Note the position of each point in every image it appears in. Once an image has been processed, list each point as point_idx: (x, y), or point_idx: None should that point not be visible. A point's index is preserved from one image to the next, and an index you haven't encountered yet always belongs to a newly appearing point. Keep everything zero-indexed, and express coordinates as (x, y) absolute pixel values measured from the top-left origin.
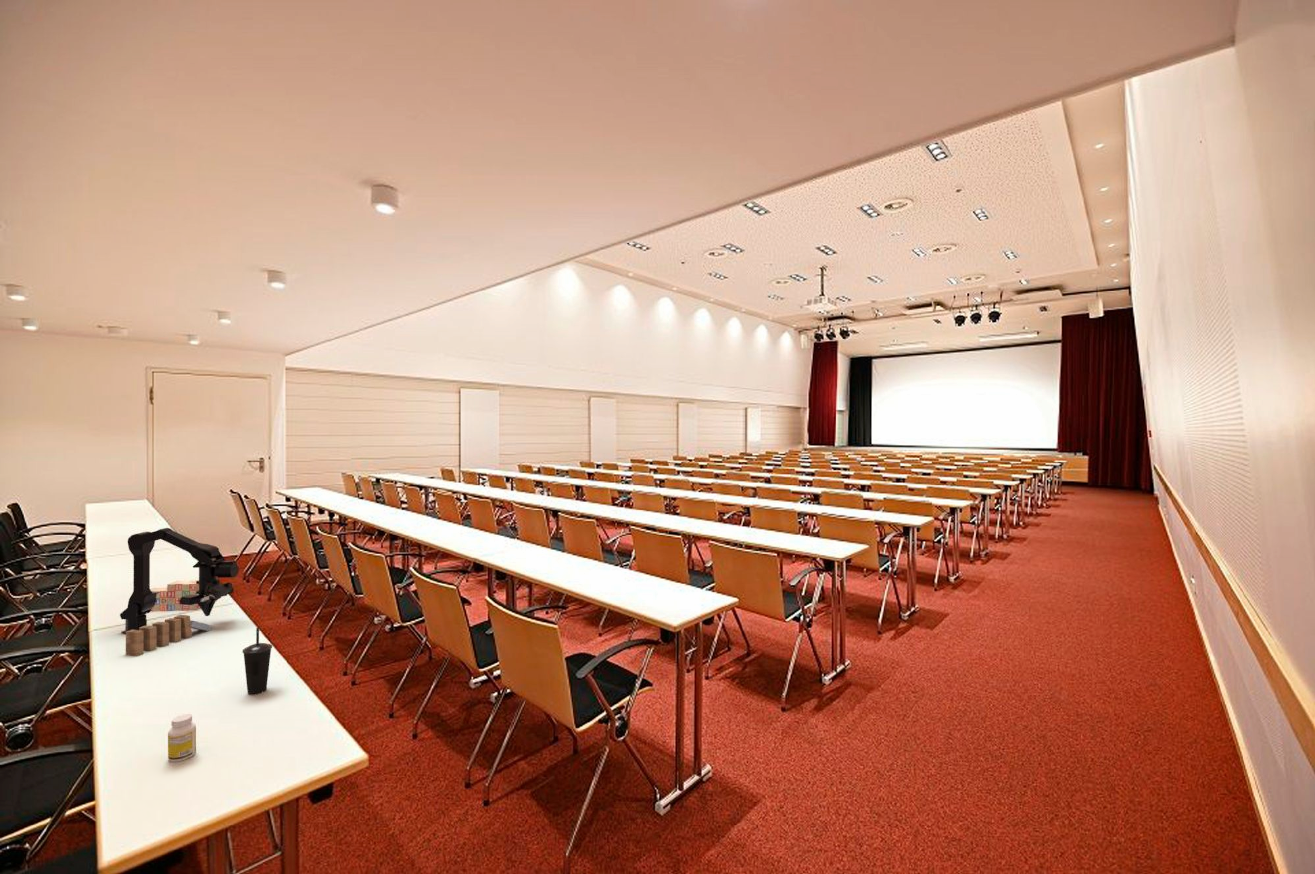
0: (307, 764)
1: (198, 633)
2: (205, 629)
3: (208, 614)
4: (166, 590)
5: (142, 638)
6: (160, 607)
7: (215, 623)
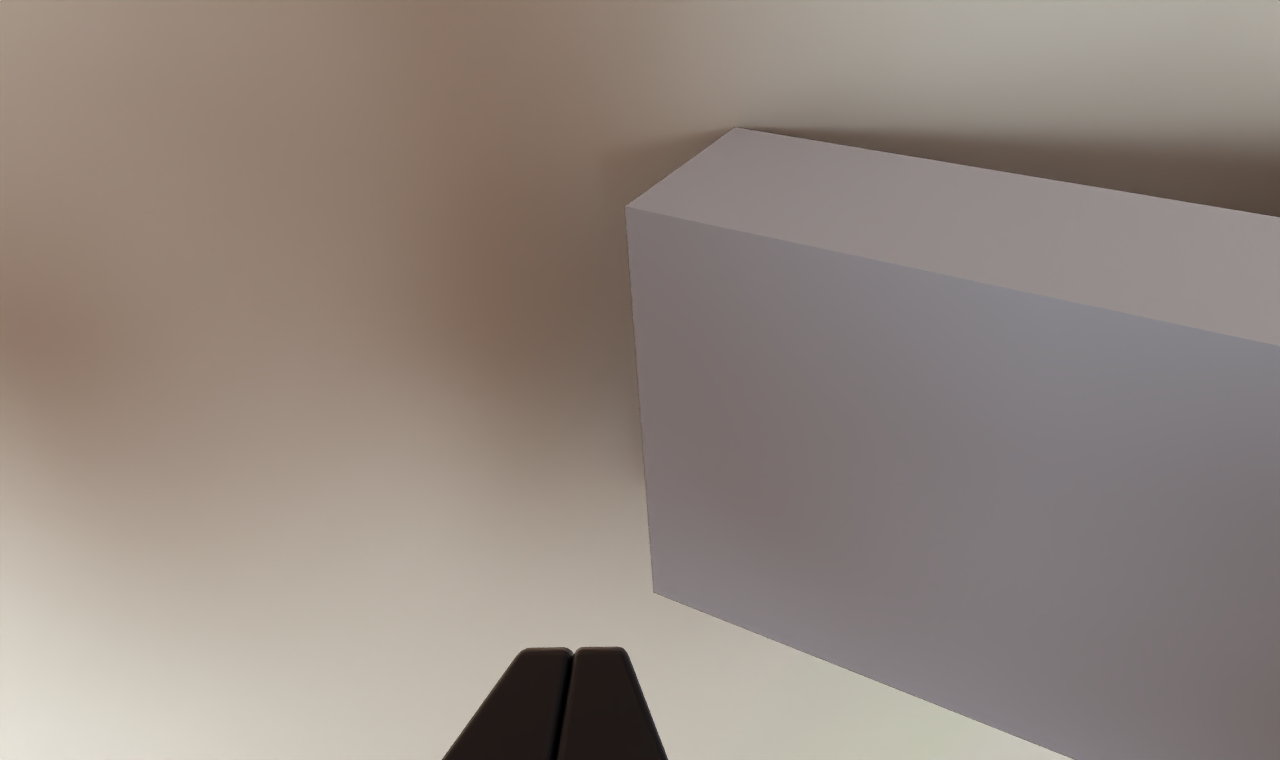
0: None
1: None
2: (886, 165)
3: (585, 685)
4: None
5: None
6: None
7: (173, 554)
